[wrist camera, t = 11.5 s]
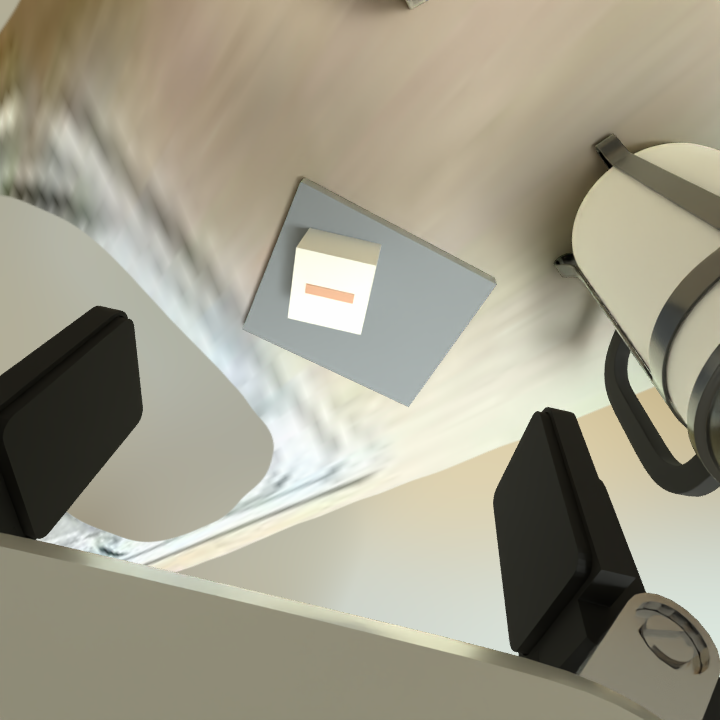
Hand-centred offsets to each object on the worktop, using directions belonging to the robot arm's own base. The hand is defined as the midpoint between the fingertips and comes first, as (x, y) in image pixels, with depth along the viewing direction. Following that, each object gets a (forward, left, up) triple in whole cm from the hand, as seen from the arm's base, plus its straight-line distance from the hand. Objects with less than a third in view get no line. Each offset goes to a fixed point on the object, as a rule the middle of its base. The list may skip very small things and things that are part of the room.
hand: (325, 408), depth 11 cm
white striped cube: (0, +11, -32) cm, 33 cm away
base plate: (-3, +13, -33) cm, 36 cm away
